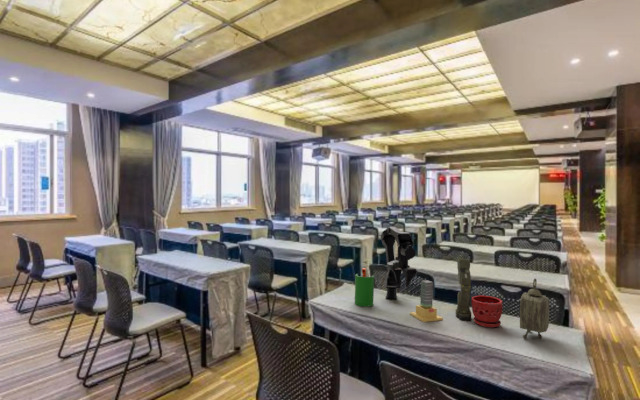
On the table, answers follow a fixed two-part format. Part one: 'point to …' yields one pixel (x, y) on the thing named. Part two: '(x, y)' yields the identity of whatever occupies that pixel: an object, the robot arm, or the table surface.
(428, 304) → the column
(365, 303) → the green pencil holder
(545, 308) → the tabletop clock
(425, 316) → the stand base
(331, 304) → the table surface
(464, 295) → the mechanical leg
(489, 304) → the plant pot
